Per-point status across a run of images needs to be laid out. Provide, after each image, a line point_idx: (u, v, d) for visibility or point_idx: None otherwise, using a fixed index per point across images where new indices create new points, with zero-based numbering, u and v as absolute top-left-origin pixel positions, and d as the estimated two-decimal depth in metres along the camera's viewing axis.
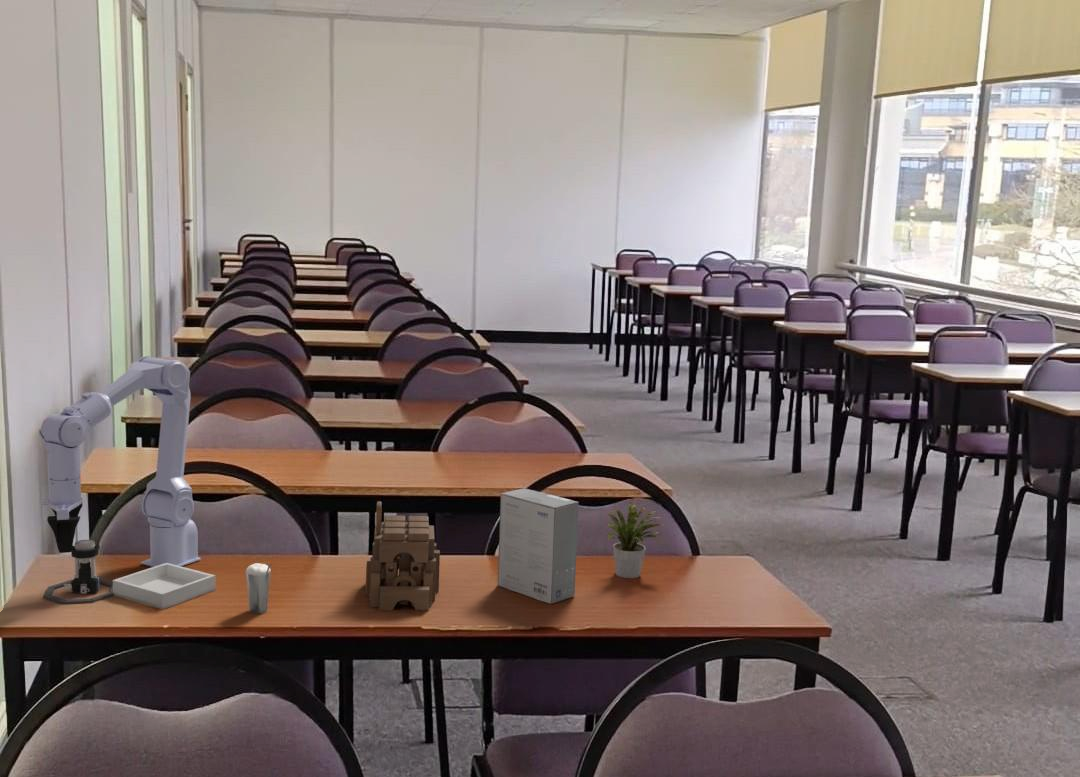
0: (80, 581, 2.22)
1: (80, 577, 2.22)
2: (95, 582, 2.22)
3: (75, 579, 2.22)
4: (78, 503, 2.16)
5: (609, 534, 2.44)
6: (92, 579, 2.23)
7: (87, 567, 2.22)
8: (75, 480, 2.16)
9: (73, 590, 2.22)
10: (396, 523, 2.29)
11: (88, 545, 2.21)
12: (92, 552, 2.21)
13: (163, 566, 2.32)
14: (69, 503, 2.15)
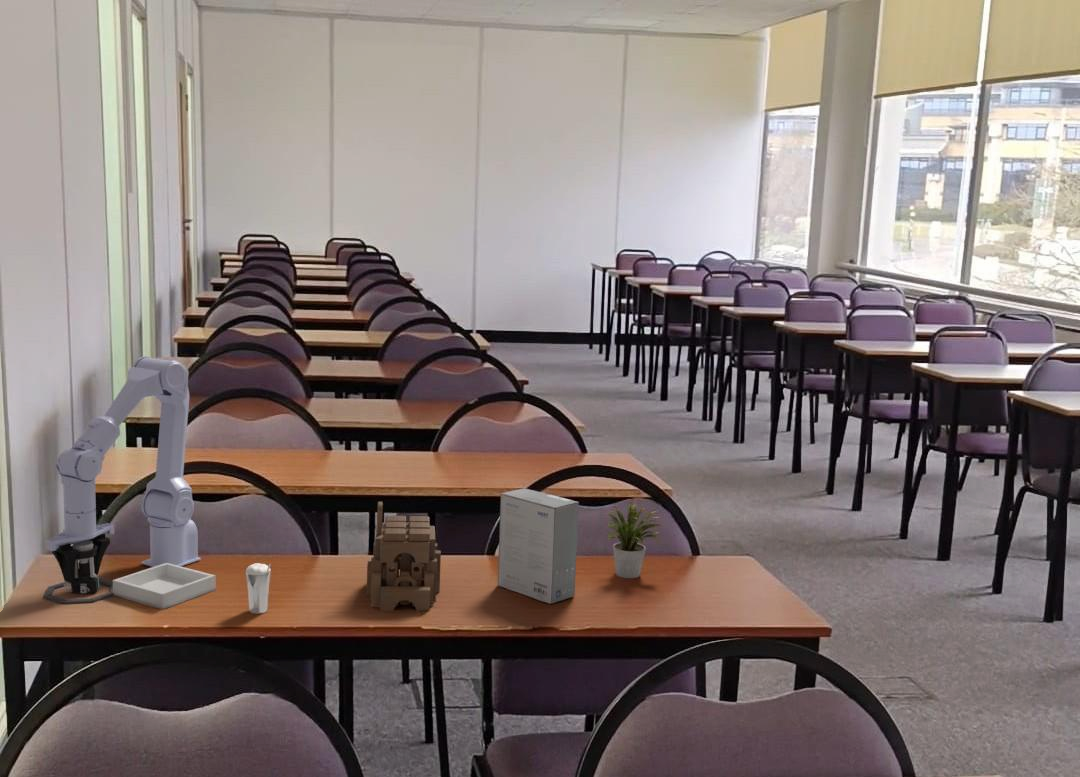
0: (80, 581, 2.22)
1: (79, 577, 2.21)
2: (95, 582, 2.22)
3: (75, 579, 2.22)
4: (79, 538, 2.19)
5: (609, 534, 2.44)
6: (92, 579, 2.23)
7: (86, 567, 2.22)
8: (78, 515, 2.18)
9: (73, 590, 2.22)
10: (397, 523, 2.29)
11: (86, 546, 2.20)
12: (90, 552, 2.20)
13: (163, 566, 2.32)
14: (71, 536, 2.19)
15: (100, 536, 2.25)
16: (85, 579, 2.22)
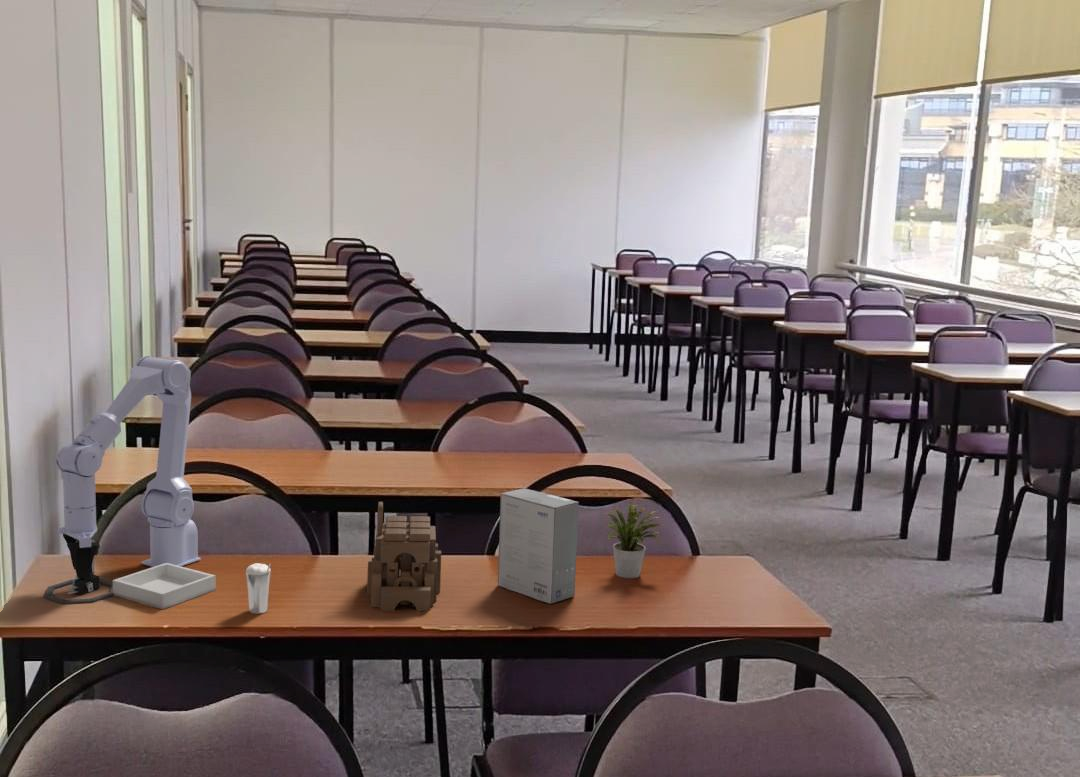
0: (87, 580, 2.22)
1: None
2: (98, 577, 2.25)
3: (79, 580, 2.22)
4: (95, 530, 2.21)
5: (609, 534, 2.44)
6: None
7: None
8: (92, 508, 2.20)
9: (79, 591, 2.22)
10: (397, 523, 2.29)
11: None
12: (98, 548, 2.23)
13: (163, 566, 2.32)
14: (87, 531, 2.19)
15: None
16: (92, 576, 2.23)
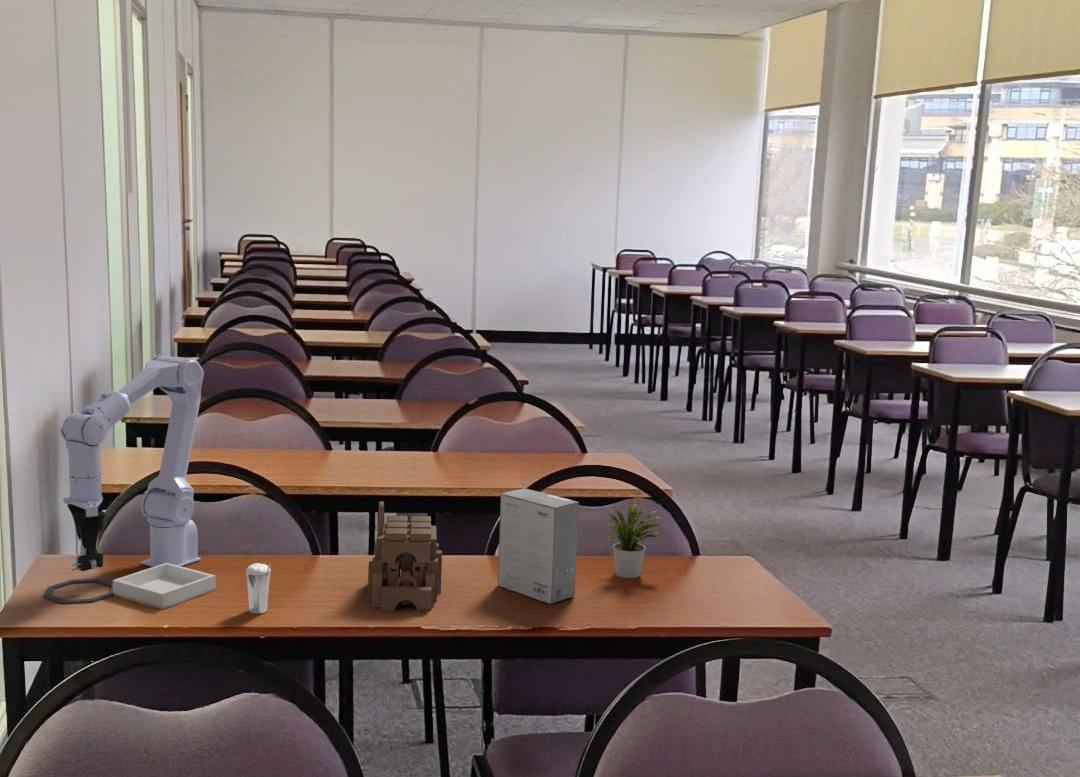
0: (91, 557, 2.22)
1: (92, 553, 2.21)
2: (102, 555, 2.24)
3: (83, 557, 2.21)
4: (101, 500, 2.20)
5: (609, 534, 2.44)
6: None
7: None
8: (98, 477, 2.19)
9: (83, 568, 2.21)
10: (398, 523, 2.29)
11: None
12: (103, 525, 2.23)
13: (163, 566, 2.32)
14: (93, 500, 2.19)
15: None
16: (96, 554, 2.22)
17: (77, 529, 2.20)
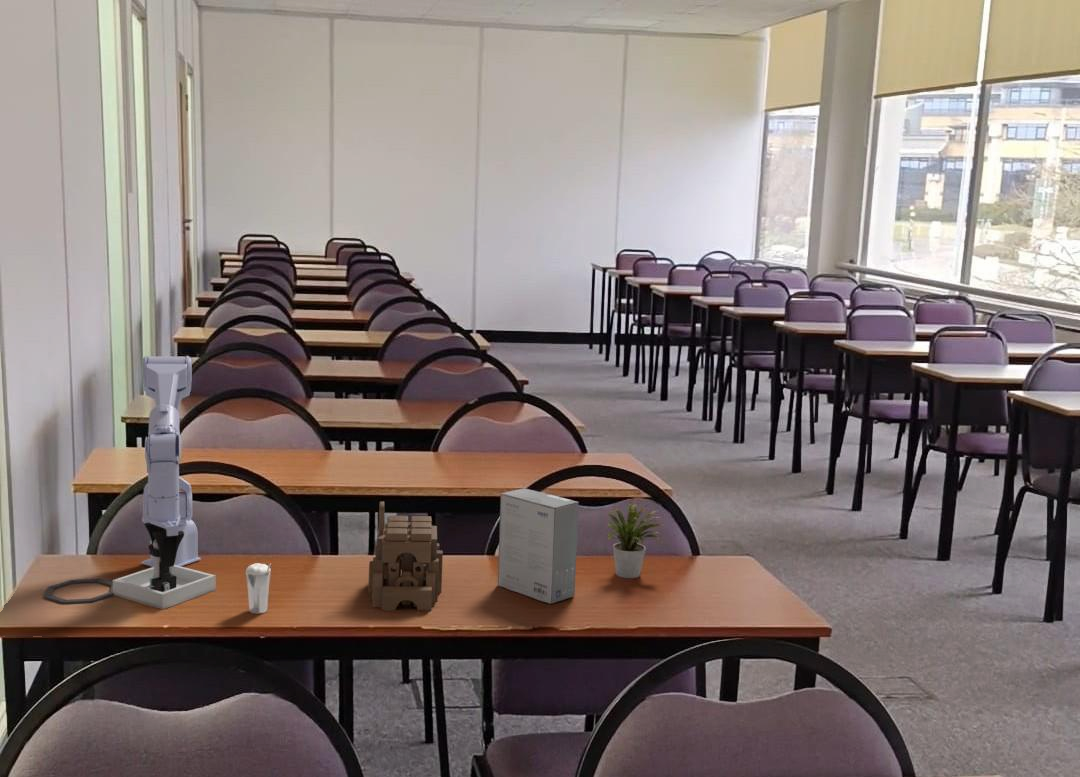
0: (164, 579, 2.23)
1: (164, 575, 2.23)
2: (175, 577, 2.25)
3: (156, 579, 2.23)
4: (179, 519, 2.22)
5: (609, 534, 2.44)
6: None
7: None
8: (177, 497, 2.21)
9: None
10: (399, 523, 2.29)
11: None
12: None
13: None
14: (172, 520, 2.21)
15: None
16: (169, 576, 2.24)
17: (150, 552, 2.22)
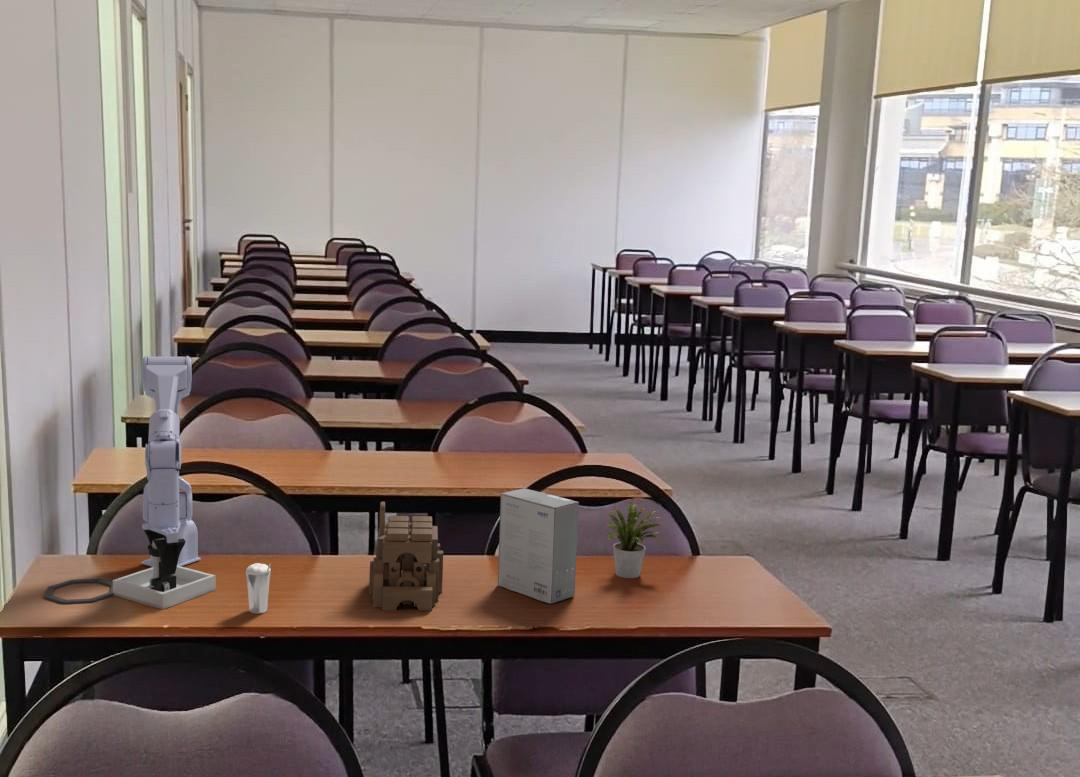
0: (164, 579, 2.23)
1: (164, 575, 2.23)
2: (175, 577, 2.25)
3: (156, 579, 2.23)
4: (179, 526, 2.22)
5: (609, 534, 2.44)
6: None
7: None
8: (177, 503, 2.21)
9: None
10: (399, 523, 2.29)
11: None
12: None
13: None
14: (172, 526, 2.21)
15: None
16: (169, 576, 2.24)
17: (149, 552, 2.22)
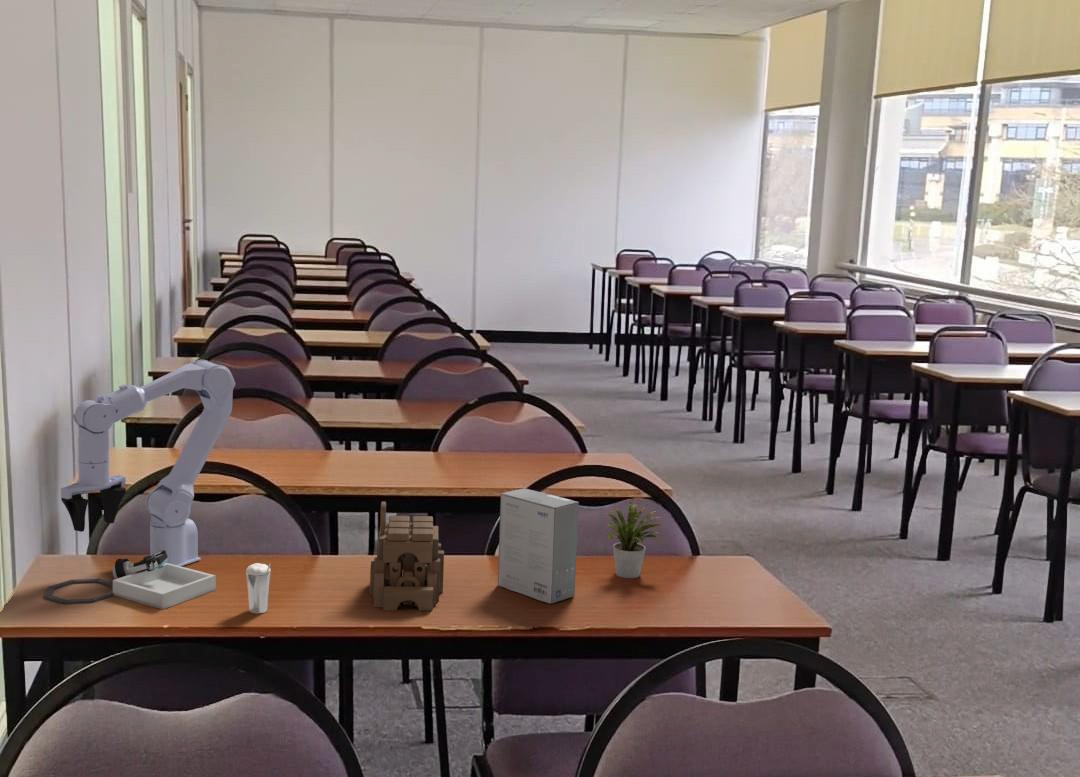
0: (148, 557, 2.27)
1: (144, 558, 2.27)
2: (154, 553, 2.30)
3: None
4: (94, 487, 2.27)
5: (609, 534, 2.44)
6: None
7: None
8: (93, 465, 2.26)
9: (156, 559, 2.25)
10: (400, 523, 2.29)
11: None
12: (124, 560, 2.29)
13: None
14: (86, 485, 2.27)
15: (116, 486, 2.34)
16: None
17: None
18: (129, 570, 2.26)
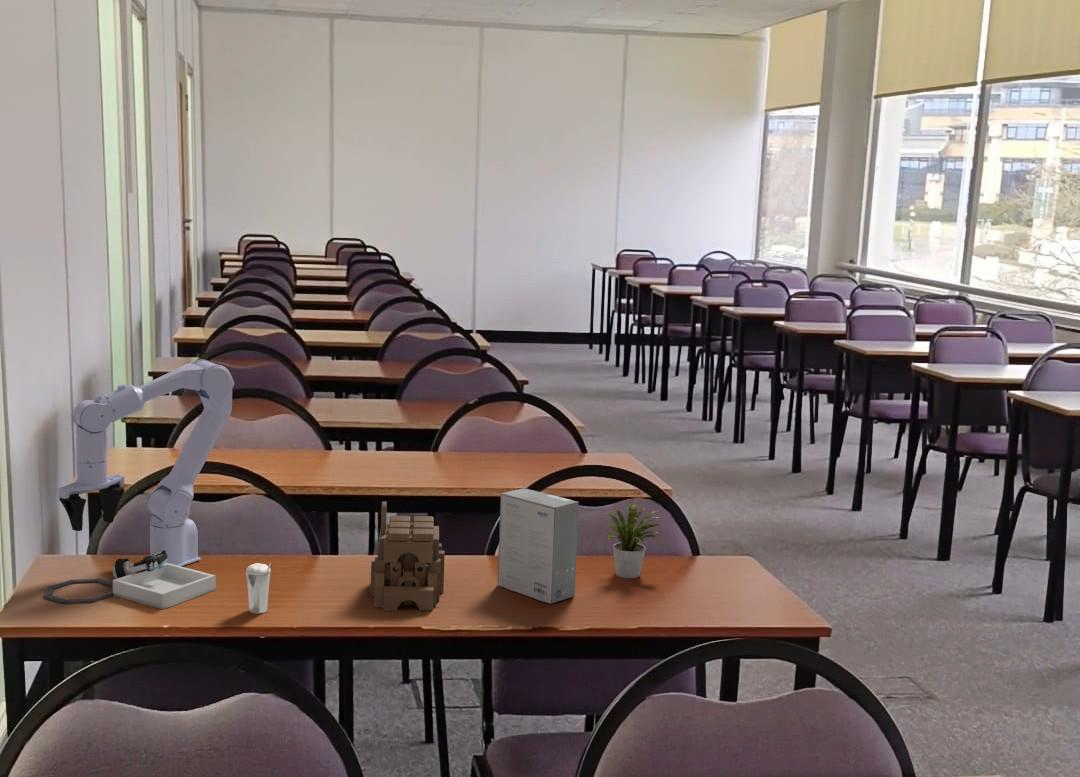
0: (148, 557, 2.27)
1: (144, 558, 2.27)
2: (154, 553, 2.30)
3: None
4: (91, 487, 2.27)
5: (609, 534, 2.44)
6: None
7: None
8: (90, 464, 2.27)
9: (156, 559, 2.25)
10: (401, 523, 2.29)
11: None
12: None
13: None
14: (83, 485, 2.27)
15: (115, 486, 2.34)
16: None
17: None
18: (129, 570, 2.26)
